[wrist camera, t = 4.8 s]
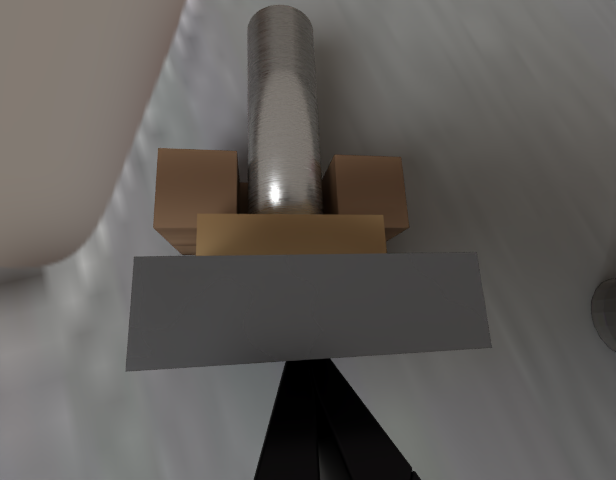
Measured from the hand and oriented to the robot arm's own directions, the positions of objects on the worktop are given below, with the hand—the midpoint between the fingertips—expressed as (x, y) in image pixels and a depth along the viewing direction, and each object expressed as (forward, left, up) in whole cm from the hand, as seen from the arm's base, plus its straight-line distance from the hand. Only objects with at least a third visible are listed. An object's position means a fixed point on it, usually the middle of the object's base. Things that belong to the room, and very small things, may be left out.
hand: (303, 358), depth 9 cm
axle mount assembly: (+7, 0, -7) cm, 10 cm away
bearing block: (+6, 0, -8) cm, 10 cm away
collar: (+3, 0, -8) cm, 9 cm away
